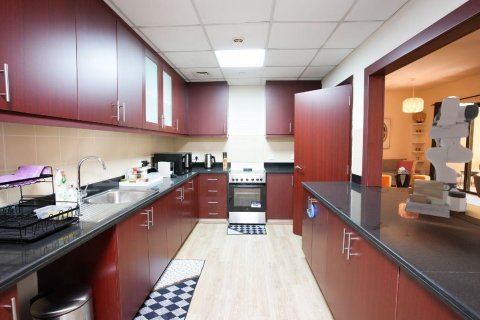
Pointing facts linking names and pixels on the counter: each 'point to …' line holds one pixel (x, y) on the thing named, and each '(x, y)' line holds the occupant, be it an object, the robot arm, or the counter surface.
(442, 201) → the offcut short
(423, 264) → the counter surface
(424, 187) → the sheet
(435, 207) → the rack
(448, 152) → the robot arm
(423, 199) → the offcut tall
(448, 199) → the jar
